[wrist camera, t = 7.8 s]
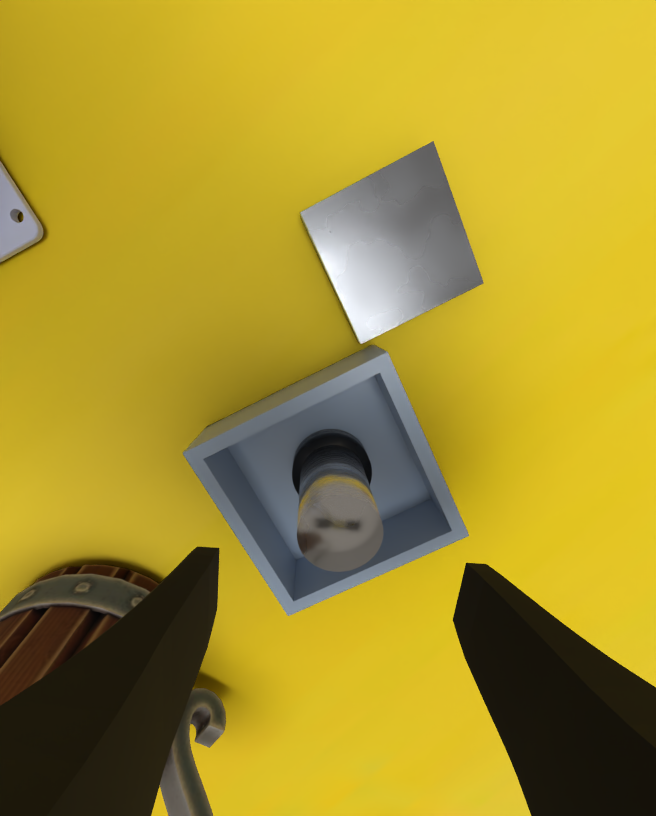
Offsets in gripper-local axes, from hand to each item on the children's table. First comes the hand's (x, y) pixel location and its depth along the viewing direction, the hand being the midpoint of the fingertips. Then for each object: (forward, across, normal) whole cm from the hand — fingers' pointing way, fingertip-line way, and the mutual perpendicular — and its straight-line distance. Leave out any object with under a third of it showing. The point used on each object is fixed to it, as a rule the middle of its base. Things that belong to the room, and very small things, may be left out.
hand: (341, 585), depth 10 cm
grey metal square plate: (+9, -2, -10) cm, 14 cm away
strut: (+8, 0, 0) cm, 8 cm away
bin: (+9, 0, 0) cm, 9 cm away
